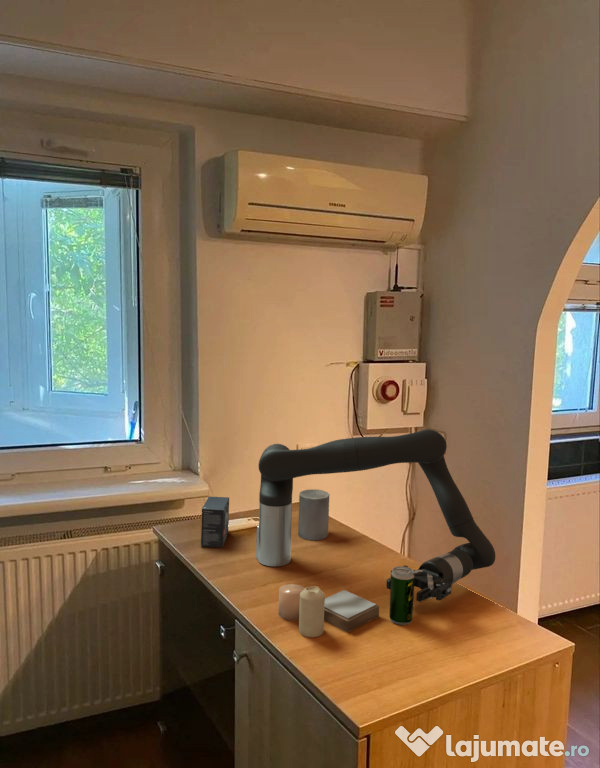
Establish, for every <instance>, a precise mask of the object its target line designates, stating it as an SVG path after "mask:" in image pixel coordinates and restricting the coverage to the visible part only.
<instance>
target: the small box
mask: <svg viewBox="0 0 600 768" xmlns="http://www.w3.org/2000/svg"><path fill="white" fill-rule="evenodd" d="M207 497H208V498H207V500H206V501H205V502H204V504H203V506H202V507H201V529H200V530H201V534H200V547H202V548H223V547H224V545H225V542H226V539H227V536H228V535H227V534H229V527H228V525H229V522H230V521H229V520H230V519H229V518H230V517H229V516H230V515H229V514H230V497H227V496H225V497H224V496H207Z"/></svg>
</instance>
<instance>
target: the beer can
mask: <svg viewBox="0 0 600 768" xmlns="http://www.w3.org/2000/svg"><path fill="white" fill-rule="evenodd" d="M404 566H405V565H402V566H401V565H400V566H399V565H398V566H394V567H393V568H392V569H391V570H392V573H391V572H390V578H391V589H389V590H390V591H389V592H390V593H389V594H390V595H389V612H388V613H389V616H388V618H389V620H390V621H391V623H393V624H394V625H398V626H407V625H410V624H411V623H412V622H413V618H414V617H413V616H414V601H415V600H414V597H415V586H414V580H415V575H414V571H413V570H414V569H412V568H411V567H409V566H408V567H404Z"/></svg>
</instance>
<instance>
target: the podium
mask: <svg viewBox="0 0 600 768" xmlns="http://www.w3.org/2000/svg"><path fill="white" fill-rule="evenodd" d="M378 617H380V605H378V604H376V603H374V602H372V601H370V600H368V599H366V598H363V597H361V596H359V595H356V594H355V593H352V592H349V591H348V590H345V589H343V590H341V591H338V592H336V593H334V594H331V595H330V596H328V597H325V606H324V622H327V623H328V624H330V625H332V626H334V627H336V628H338V629H340V630H341V631H344V632H346V633H349V632H352V631H353V630H356V629H357V628H359V627H361V626H364V625H365V624H367V623H369V622H370V621H374V620H375V619H377V618H378Z"/></svg>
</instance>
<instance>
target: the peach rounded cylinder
mask: <svg viewBox="0 0 600 768" xmlns="http://www.w3.org/2000/svg"><path fill="white" fill-rule="evenodd" d="M304 589H305V587H303V586H302V585H299V584H295V583H290V584H289V583H288V584H284V585H283V584H282V585H281V586H280V587H279V588H278V616H279V618H281V619H283V620H286V621H299V609H300V593H301V592H302V591H303V590H304Z"/></svg>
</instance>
